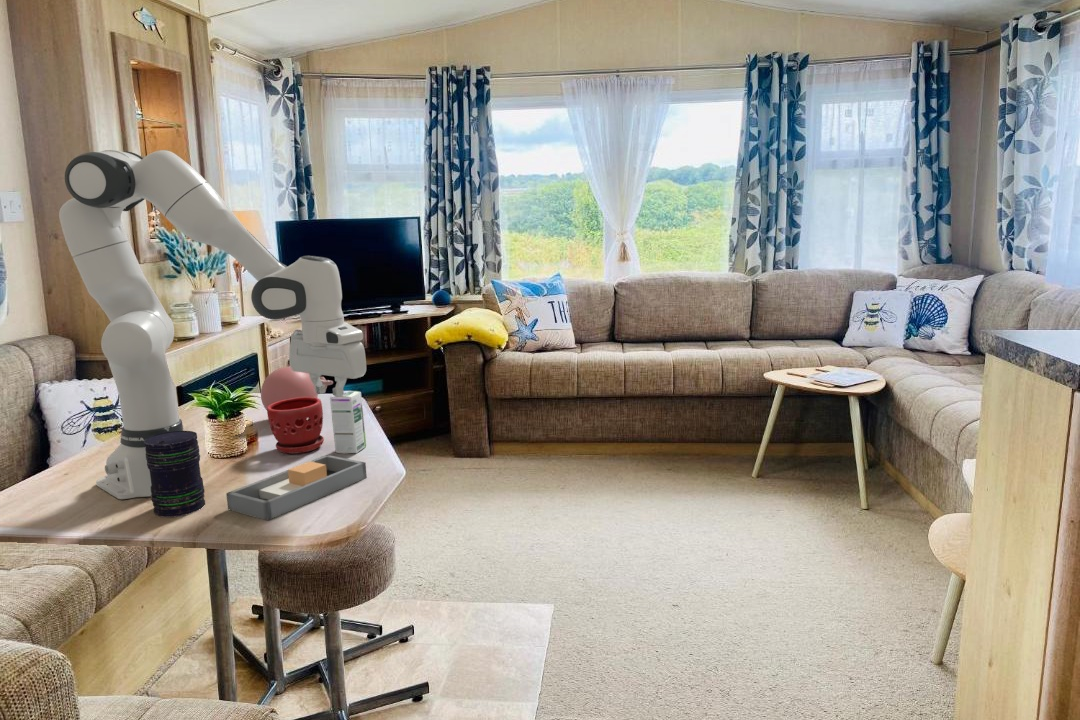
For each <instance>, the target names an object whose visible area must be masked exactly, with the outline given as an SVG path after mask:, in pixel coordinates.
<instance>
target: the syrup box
mask: <svg viewBox="0 0 1080 720" xmlns="http://www.w3.org/2000/svg"><path fill="white" fill-rule="evenodd" d="M343 391H344V394H343V396H339V397H338V396H334V395H332V396H330V397H329V400H330V413H331V421H332V422H331V423H332V431H333V438H334V440H333V441H334V448H335V449H334V450H335V453H336V454H345V453H357V454H358V453H359V452H360V451H361V450H363V449H364V448H366V447H367V443H366V442H367V441H366V431H365V422H364V421H365V420H364V411H363V410H364V409H363V400H362V392H361V391H360V390H359V391H358V390H343Z"/></svg>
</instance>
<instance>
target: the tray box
mask: <svg viewBox="0 0 1080 720" xmlns="http://www.w3.org/2000/svg"><path fill="white" fill-rule="evenodd" d="M310 461H311V462H316V463H320V464H325V465H326V471H327V476H326V477H324V478H322V479H319V480H317V481H314V482H312V483H309V484H307V485H304V486H300V485H296V484H291V483H289V475H288V469H286V470H284V471H281V472H279V473H276V474H273V475H270V476H268V477H265V478H263V479H260V480H257V481H255V482H252V483H250V484H246V485H245V486H241V487H239V488H236V489H234V490H231V491H228V492H226V494H225V495H226V502H227V509H230V510H229V511H231V510H233V511H232V512H235V511H236V513H239V514H242V515H246V516H250V517H254V518H257V519H260V518H261V520H264V519H265V521H270V520H273V519H275V518H277V517H279V515H280V516H282V515H284V514H287V513H289V512H291V511H293V510H296V509H298V508H299V507H302V506H305V505H306V504H309V503H312V502H314V501H316V500H318V499H321V498H323V497H325V496H327V495H330V494H332V493H334V492H337V491H339V490H341V489H344V488H347V487H348V486H350V485H353V484H355V483H357V482H359V481H362V480H365V479H366V478H367V476H368V475H367V464H366V462H365V461H360V460H357V459H356V460H355V459H349V458H345V457H340V456H334V455H329V454H326V455H324V456H321V457H317V458H316V459H313V460H310ZM281 514H282V515H281ZM274 517H275V518H274ZM272 518H273V519H272Z"/></svg>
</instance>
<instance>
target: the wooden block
mask: <svg viewBox="0 0 1080 720" xmlns="http://www.w3.org/2000/svg"><path fill="white" fill-rule="evenodd" d="M311 461H312V460H310V461H307V462H304V463H302V464H299V465H296V466H294V467H291V468H288V469H287V470H288V475H289V483H291V484H296V485H300V486H304V485H307V484H309V483H312V482H314V481H317V480H319V479H322V478H324V477H326V476H327V471H326V465H325V464H320V463H316V462H311Z"/></svg>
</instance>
